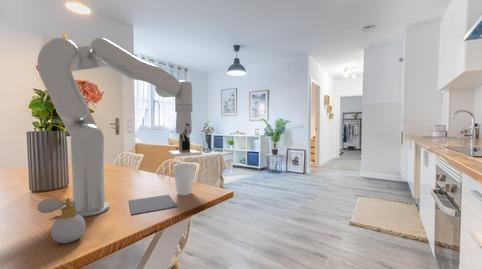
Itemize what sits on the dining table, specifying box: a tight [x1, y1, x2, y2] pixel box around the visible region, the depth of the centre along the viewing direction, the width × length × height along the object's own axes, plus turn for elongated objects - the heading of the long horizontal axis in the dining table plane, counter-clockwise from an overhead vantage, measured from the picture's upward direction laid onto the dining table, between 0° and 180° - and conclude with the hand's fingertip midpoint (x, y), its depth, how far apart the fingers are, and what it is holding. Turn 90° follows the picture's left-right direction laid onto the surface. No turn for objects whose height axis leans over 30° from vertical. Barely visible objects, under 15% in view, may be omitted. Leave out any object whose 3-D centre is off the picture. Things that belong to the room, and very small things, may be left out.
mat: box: [128, 194, 179, 216], centre depth 89 cm, size 16×16×1 cm
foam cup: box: [173, 163, 196, 196], centre depth 103 cm, size 10×9×13 cm
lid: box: [167, 138, 203, 158], centre depth 103 cm, size 12×12×7 cm
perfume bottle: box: [37, 197, 86, 244], centre depth 60 cm, size 8×10×12 cm
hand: (184, 149), depth 103 cm, fingers closed on lid, 4 cm apart
